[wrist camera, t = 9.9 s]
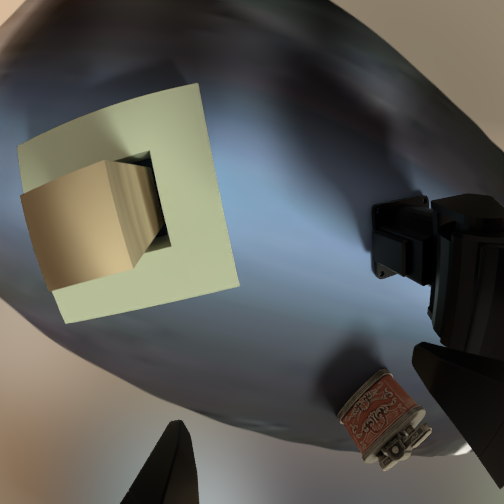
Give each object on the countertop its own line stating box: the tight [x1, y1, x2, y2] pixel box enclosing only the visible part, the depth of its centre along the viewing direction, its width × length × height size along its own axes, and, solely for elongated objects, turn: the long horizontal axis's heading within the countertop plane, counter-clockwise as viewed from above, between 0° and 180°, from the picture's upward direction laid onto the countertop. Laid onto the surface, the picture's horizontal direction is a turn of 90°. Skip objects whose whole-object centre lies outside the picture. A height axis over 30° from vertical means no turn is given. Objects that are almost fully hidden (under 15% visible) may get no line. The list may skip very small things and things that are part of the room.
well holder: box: [17, 83, 239, 324], centre depth 16 cm, size 12×12×4 cm
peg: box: [20, 160, 164, 292], centre depth 14 cm, size 4×4×10 cm
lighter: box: [338, 369, 432, 471], centre depth 23 cm, size 8×3×10 cm, turn 144°
